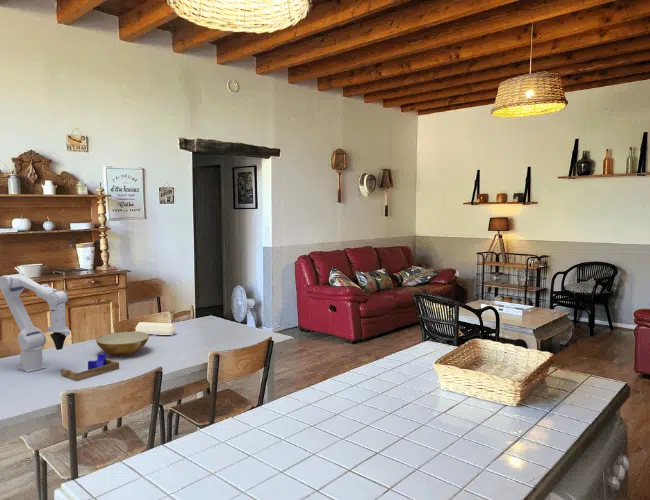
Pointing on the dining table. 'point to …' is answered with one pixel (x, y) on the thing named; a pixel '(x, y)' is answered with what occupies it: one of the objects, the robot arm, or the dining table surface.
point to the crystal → (155, 328)
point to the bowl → (122, 342)
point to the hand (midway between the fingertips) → (59, 349)
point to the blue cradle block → (97, 362)
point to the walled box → (90, 371)
